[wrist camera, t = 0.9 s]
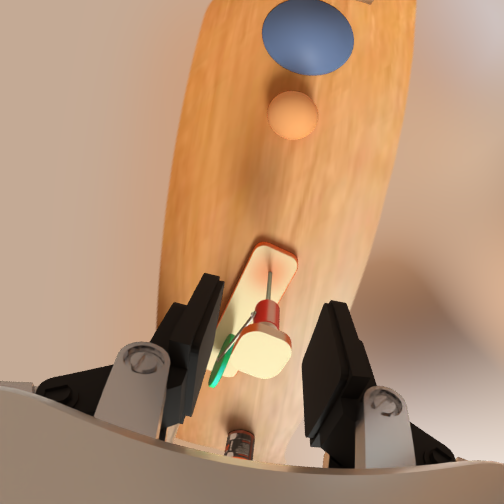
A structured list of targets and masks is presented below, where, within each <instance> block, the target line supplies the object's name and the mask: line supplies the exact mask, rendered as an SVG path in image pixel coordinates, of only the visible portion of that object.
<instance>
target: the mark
mask: <svg viewBox="0 0 504 504" xmlns="http://www.w3.org/2000/svg"><path fill="white" fill-rule="evenodd" d="M262 37H263V42H264V45H265V48H266V50H267V51H268V53H269V54H270V56H271V57H272V58H273V59H274V60H275V61H276V62H277V63H278V64H280V65H281V66H282V67H284V68H286V69H288V70H290V71H292V72H295V73H298V74H303V75H323V74H327V73H330V72H332V71H334V70H336V69H338V68H339V67H341V66H342V65H343V64H344V63H345V62H346V61H347V60H348V58H349V57H350V55H351V53H352V50H353V45H354V37H353V32H352V29H351V26H350V24H349V22H348V21H347V19H346V18H345V17H344V16H343V15H342V14H341V13H340V12H339V11H338V10H337V9H336V8H334V7H332V6H331V5H329V4H327V3H325V2H322V1H319V0H289V1H286V2H284V3H282V4H280V5H278V6H277V7H275V8H274V9H273V10H272V11H271V12H270V13H269V14H268V16H267V17H266V19H265V22H264V24H263V29H262Z"/></svg>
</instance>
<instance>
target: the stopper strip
mask: <svg viewBox="0 0 504 504" xmlns="http://www.w3.org/2000/svg"><path fill="white" fill-rule="evenodd" d="M358 1H361V2H364V3H367V4H371V3H372V2H373V0H358Z"/></svg>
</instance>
